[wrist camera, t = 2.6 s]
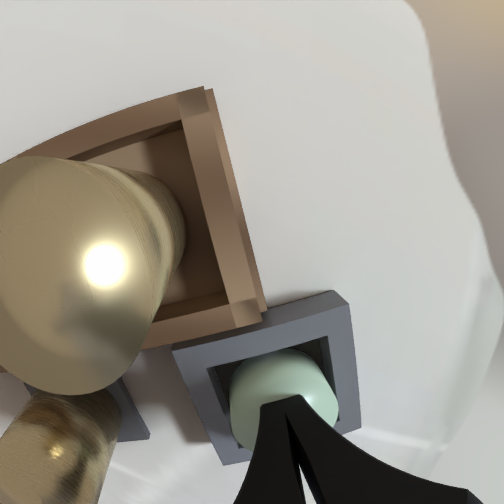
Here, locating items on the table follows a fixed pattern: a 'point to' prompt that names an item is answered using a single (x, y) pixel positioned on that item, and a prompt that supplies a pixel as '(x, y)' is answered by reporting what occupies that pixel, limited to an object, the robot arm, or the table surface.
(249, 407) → the button
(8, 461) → the cylinder
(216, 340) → the button housing
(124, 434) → the mat
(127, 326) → the brass round-topped piece
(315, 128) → the table surface
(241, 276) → the brown wooden tray
